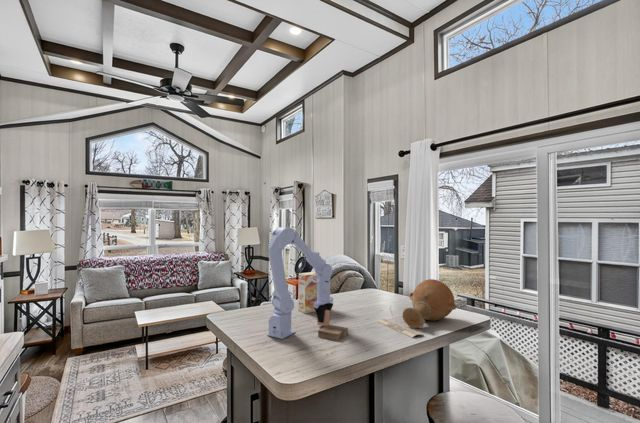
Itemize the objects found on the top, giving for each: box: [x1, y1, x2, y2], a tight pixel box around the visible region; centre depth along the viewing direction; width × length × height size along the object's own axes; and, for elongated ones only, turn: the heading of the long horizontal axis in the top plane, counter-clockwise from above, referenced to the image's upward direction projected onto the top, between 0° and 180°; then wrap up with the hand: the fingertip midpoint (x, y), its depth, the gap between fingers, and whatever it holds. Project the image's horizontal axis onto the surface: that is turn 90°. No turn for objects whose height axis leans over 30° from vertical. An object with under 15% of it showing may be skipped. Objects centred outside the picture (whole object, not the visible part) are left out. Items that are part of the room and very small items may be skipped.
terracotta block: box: [316, 310, 331, 327], centre depth 145 cm, size 4×4×6 cm
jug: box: [401, 278, 457, 329], centre depth 153 cm, size 20×19×30 cm
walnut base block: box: [317, 324, 349, 342], centre depth 134 cm, size 9×9×3 cm
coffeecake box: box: [297, 271, 318, 314], centre depth 173 cm, size 15×7×20 cm, turn 126°
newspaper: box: [377, 318, 425, 339], centre depth 143 cm, size 24×7×2 cm, turn 26°
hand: (323, 320), depth 145 cm, fingers closed on terracotta block, 4 cm apart
